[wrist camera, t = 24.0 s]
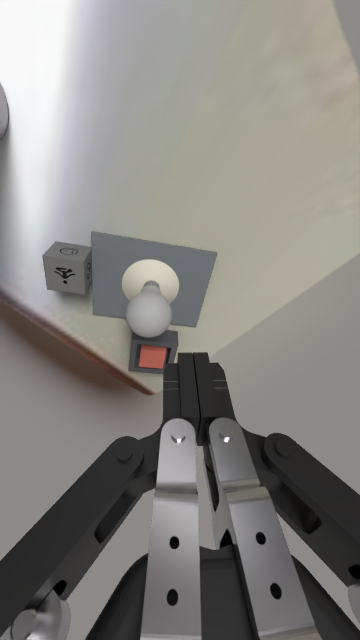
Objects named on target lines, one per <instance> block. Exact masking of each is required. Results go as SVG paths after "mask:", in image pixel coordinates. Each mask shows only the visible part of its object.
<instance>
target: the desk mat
mask: <svg viewBox="0 0 360 640" xmlns="http://www.w3.org/2000/svg"><path fill="white" fill-rule="evenodd" d="M91 242H92V295H93V314H96V315H104V316H112V317H121V318H126V308H127V305H128V303H129V302H130V301H131V299H132V298H133V297H135V296H136V295H138V294H140V292H141V290H142V289H143V286H144V284H145V283H146V282H147V281H150V280H152V281H156V282H157V283H158V284H159V287H160V291H161V295H162V296H163V297H164V298H165V299H166V300H167V301H168V302H169V304H170V307H171V309H172V320H171V323H170V324H178V325H186V326H194V327H196V325H197V321H198V318H199V314H200V311H201V308H202V304H203V301H204V297H205V294H206V290H207V287H208V283H209V280H210V277H211V273H212V270H213V266H214V263H215V259H216V256H217V252H211V251H205V250H199V249H194V248H188V247H182V246H176V245H170V244H164V243H158V242H152V241H146V240H140V239H134V238H128V237H122V236H117V235H111V234H105V233H99V232H93V231H92V232H91Z"/></svg>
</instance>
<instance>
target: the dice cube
mask: <svg viewBox="0 0 360 640" xmlns="http://www.w3.org/2000/svg"><path fill="white" fill-rule="evenodd" d="M43 263H44V270H45V277H46V284H47V290H54V291H62V292H69V293H77V294H84V295H85V293H86V291H87V289H88V287H89V285H90V283H91V281H92V247H87V246H81V245H75V244H69V243H62V242H55V243H54V244H53V245H52V246H51V247H50V248H49V249H48V250H47V251H46V252H45V253H44V254H43Z"/></svg>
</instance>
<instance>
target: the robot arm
mask: <svg viewBox="0 0 360 640" xmlns="http://www.w3.org/2000/svg"><path fill="white" fill-rule="evenodd" d="M7 124H8V105H7V101H6V97H5V93H4V91H3V88H2V86H1V83H0V139H1V138H2V137H3V135H4V134H5V131H6V128H7ZM196 441H197V446H203V452H204V459H203V466H204V471H205V477H206V483H207V488H208V493H209V499H210V505H211V510H212V522H213V534H214V540H215V546H216V550H211V549H208V548H204V547H201V546H199V517H198V515H199V513H198V493H197V485H196ZM154 488H156V489H155V494H154V503H153V513H152V524H151V534H150V545H149V553H147V554H145V555H144V556H142V557H141V558H140V559H138V560H137V561H136V562H135V563H134V564H133V565H132V566H131V567H130V568H129V569H128V571H127V572H126V573H125V574H124V576H123V577H122V579H121V581H120V582H119V584H118V585H117V587H116V589H115V590H114V592H113V594H112V595H111V597H110V599H109V600H108V602H107V604H106V605H105V607H104V609H103V610H102V612H101V614H100V615H99V617H98V619H97V620H96V622H95V624H94V625H93V627H92V629H91V630H90V632H89V634H88V635H87V637H86V639H85V640H360V631H359V629H358V628H357V627H356V626H355V625H354V624H353V622H352V621H351V620H350V619H349V618H348V616H347V615H346V614H345V613H344V612H343V611H342V609H341V608H340V607H339V606H338V605H337V604H336V602H335V601H334V600H333V599H332V598H331V597H330V595H329V594H328V593H327V592H326V591H325V589H324V588H323V587H322V586H321V585H320V584H319V582H318V581H317V580H316V579H315V578H314V577H313V575H312V574H311V573H310V572H309V571H308V570H307V569H306V567H305V566H303V564H302V563H301V562H299V561H298V560H297V559H296V558H295V557H294V556H292V555H291V554H290V551H289V548H288V546H287V543H286V540H285V537H284V534H283V532H282V528H281V525H280V522H279V520H278V517H277V514H276V512H277V513H278V514H279V515H280V516H281V517H282V518H283V519H284V521H285V522H286V523H287V524H288V525H289V526H290V527H291V528H292V529H293V530H294V531H295V532H296V533H297V534H298V535H299V536H300V537H301V539H302V540H303V541H304V542H305V543H306V544H307V545H308V546H309V547H310V548H311V549H312V550H313V551H314V552H315V553H316V554H317V555H318V556H319V558H321V560H322V561H323V562H324V563H325V564H326V565H327V566H328V567H329V568H330V569H331V570H332V571H333V572H334V573H335V574H336V575H337V577H338V578H339V579H340V580H341V581H342V582H343V583H344V584H345V585H346V586H347V587H348V597H349V602H350V605H351V608H352V611H353V613H354V615H355V617H356V618H357V620H358V622H359V623H360V495H359V494H358V493H357V492H355V491H354V490H353V489H351V487H349V486H348V485H347V484H346V483H344V482H343V481H342V480H341V479H340V478H338V477H337V476H336V475H335V474H333V473H332V472H331V471H330V470H329V469H328V468H326V467H325V466H324V465H323V464H321V463H320V462H319V461H318V460H317V459H315V458H314V457H313V456H312V455H311V454H309V453H308V452H307V451H306V450H305V449H303V448H302V447H301V446H300V445H299V444H297V443H296V442H295V441H294V440H292V439H291V438H290V437H288V436H286V435H284V434H281V433H273V434H270V435H269V436H268V437H264V436H260V435H256V434H254V433H251V432H248V431H246V430H245V429H244V428H242V427H241V426H240V425H239V424H238V422H237V420H236V418H235V415H234V411H233V407H232V403H231V399H230V394H229V390H228V386H227V382H226V377H225V373H224V370H223V369H222V367H221V366H220V365H219V363H209V357H208V353H207V352H203V353H193V354H192V353H178V361H177V363H168V364H167V366H166V368H165V370H164V373H163V421H162V424H161V426H160V428H159V429H158V430H157V431H156V432H155V433H154V434H152V435H150V436H148V437H145V438H142V439H140V440H137V439H136V438H133V437H130V436H125V437H121V438H118V439H117V440H115V441H114V442H113V443H112V444H111V445H110V446H109V447H108V448H107V449H106V450H105V451H104V452H103V453H102V454H101V456H100V457H98V458H97V460H96V461H95V462H94V463H93V464H92V465H91V466H90V467H89V468H88V469H87V470H86V471H85V472H84V473H83V474H82V475H81V476H80V478H78V480H77V481H76V482H75V483H74V484H73V485H72V486H71V487H70V488H69V489H68V490H67V491H66V492H65V493H64V494H63V495H62V496H61V498H60V499H59V500H58V501H57V502H56V503H55V504H54V505H53V506H52V507H51V508H50V509H49V510H48V511H47V512H46V513H45V514H44V515H43V517H42V518H41V519H40V520H39V521H38V522H37V523H36V524H35V525H34V526H33V527H32V528H31V529H30V530H29V531H28V532H27V533H26V534H25V536H24V537H23V538H22V539H21V540H20V541H19V542H18V543H17V544H16V545H15V546H14V547H13V548H12V549H11V550H10V551H9V552H8V553H7V554H6V556H5V557H4V558H3V559H2V560H1V561H0V640H66V638H67V635H68V631H69V627H70V618H71V616H70V608H69V605H68V603H67V601H66V600H67V598H68V597H69V595H70V594H71V593H72V591H73V590H74V589H75V587H76V586H77V584H78V583H79V582H80V580H81V579H82V578H83V576H84V575H85V573H86V572H87V571H88V569H89V568H90V567H91V565H92V564H93V562H94V561H95V560H96V558H97V557H98V555H99V554H100V553H101V551H102V550H103V549H104V547H105V546H106V544H107V543H108V542H109V540H110V539H111V538H112V536H113V535H114V534H115V532H116V531H117V529H118V528H119V527H120V525H121V524H122V522H123V521H124V519H125V518H126V517H127V516H128V514H129V513H130V511H131V510H132V509H133V507H134V506H135V504H136V503H137V502H138V500H139V499H140V498H141V496H142V495H143V493H145V492H147V491H149V490H152V489H154Z"/></svg>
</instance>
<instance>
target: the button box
mask: <svg viewBox="0 0 360 640" xmlns="http://www.w3.org/2000/svg"><path fill="white" fill-rule="evenodd" d="M142 345H150V346H159V347H166V356H165V360H164V365H163V369H160V368H149V367H139V361H140V353H141V346H142ZM177 347H178V332H177V331H170V330H166V331H165V332H163V333H162V334H160V335H158V336H156V337H150V338H148V337H142V336H139V335H137V334H136V333H134V332H133V334H132V341H131V351H130V361H129V371H136V372H147V373H158V374H163V373H164V370H165V368H166V366H167V364H168V363H174V359H175V355H176V351H177Z"/></svg>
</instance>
